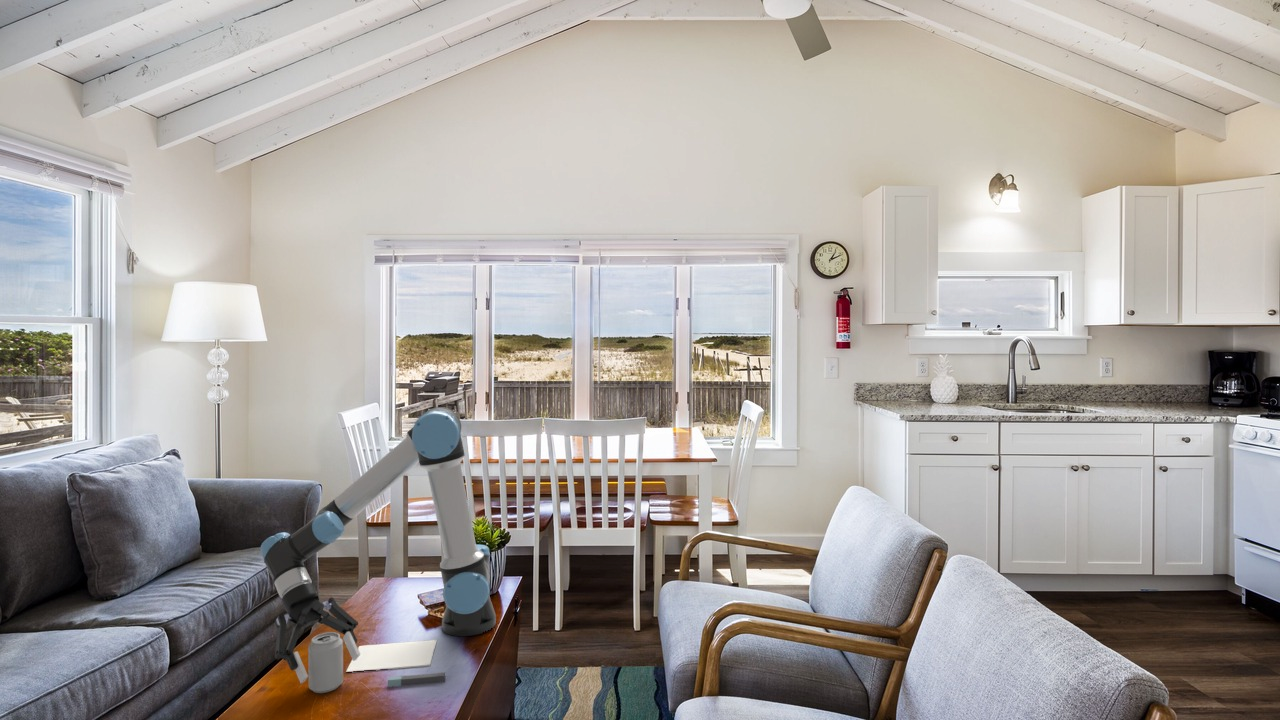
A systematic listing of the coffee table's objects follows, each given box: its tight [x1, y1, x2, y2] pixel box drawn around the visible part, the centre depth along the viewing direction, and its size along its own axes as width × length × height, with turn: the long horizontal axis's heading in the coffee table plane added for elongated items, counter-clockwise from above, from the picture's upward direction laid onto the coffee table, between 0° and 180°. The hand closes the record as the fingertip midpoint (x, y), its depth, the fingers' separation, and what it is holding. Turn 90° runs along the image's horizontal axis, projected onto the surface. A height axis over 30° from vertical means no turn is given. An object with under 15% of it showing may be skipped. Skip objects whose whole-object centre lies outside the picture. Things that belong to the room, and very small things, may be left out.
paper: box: [345, 639, 438, 673], centre depth 172 cm, size 20×14×1 cm
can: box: [307, 631, 344, 694], centre depth 157 cm, size 8×8×12 cm
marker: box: [387, 672, 446, 688], centre depth 159 cm, size 13×2×2 cm, turn 100°
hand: (331, 668), depth 156 cm, fingers open, 12 cm apart
